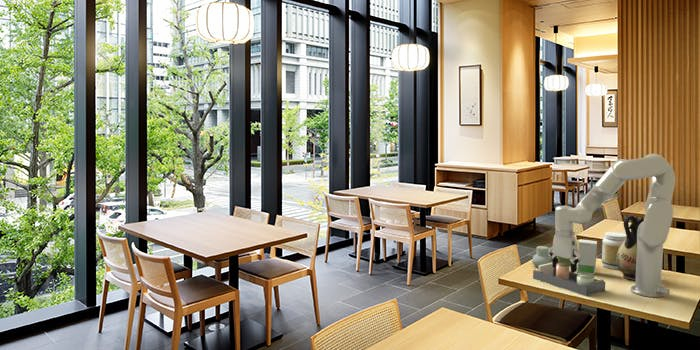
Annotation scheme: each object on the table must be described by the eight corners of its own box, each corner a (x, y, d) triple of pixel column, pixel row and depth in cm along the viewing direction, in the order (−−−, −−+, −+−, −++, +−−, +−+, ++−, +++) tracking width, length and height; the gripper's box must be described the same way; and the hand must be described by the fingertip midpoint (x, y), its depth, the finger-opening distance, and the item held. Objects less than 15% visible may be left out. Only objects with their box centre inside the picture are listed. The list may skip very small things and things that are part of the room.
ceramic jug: (631, 271, 246) (634, 211, 242) (660, 280, 231) (664, 216, 228) (605, 275, 240) (607, 214, 236) (633, 285, 225) (636, 220, 222)
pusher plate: (553, 275, 240) (553, 263, 239) (539, 278, 235) (540, 266, 234) (544, 272, 244) (545, 260, 244) (531, 275, 239) (531, 263, 239)
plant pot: (579, 262, 262) (579, 241, 261) (575, 268, 252) (576, 246, 251) (555, 259, 268) (555, 238, 267) (551, 264, 258) (551, 243, 257)
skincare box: (576, 272, 244) (577, 241, 243) (577, 269, 250) (578, 238, 248) (595, 275, 240) (596, 243, 239) (596, 271, 246) (597, 240, 244)
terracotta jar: (571, 283, 229) (572, 264, 228) (563, 285, 226) (564, 266, 225) (561, 280, 234) (561, 261, 233) (553, 282, 231) (553, 263, 230)
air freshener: (536, 262, 263) (537, 244, 262) (553, 264, 258) (553, 246, 257) (531, 267, 254) (531, 248, 253) (548, 270, 249) (548, 250, 248)
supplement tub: (620, 263, 259) (621, 231, 258) (633, 270, 247) (635, 236, 245) (596, 263, 259) (598, 231, 258) (609, 270, 247) (610, 237, 245)
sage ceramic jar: (597, 291, 218) (598, 276, 217) (585, 293, 215) (585, 278, 215) (585, 286, 224) (585, 271, 224) (573, 288, 222) (573, 273, 221)
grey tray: (605, 290, 219) (605, 279, 218) (586, 296, 212) (586, 284, 212) (551, 274, 243) (551, 264, 242) (533, 278, 237) (533, 268, 236)
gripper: (586, 234, 222) (586, 272, 224) (553, 228, 237) (553, 264, 239) (575, 237, 218) (575, 275, 220) (542, 231, 233) (543, 266, 235)
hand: (564, 269), depth 229 cm, fingers open, 9 cm apart
